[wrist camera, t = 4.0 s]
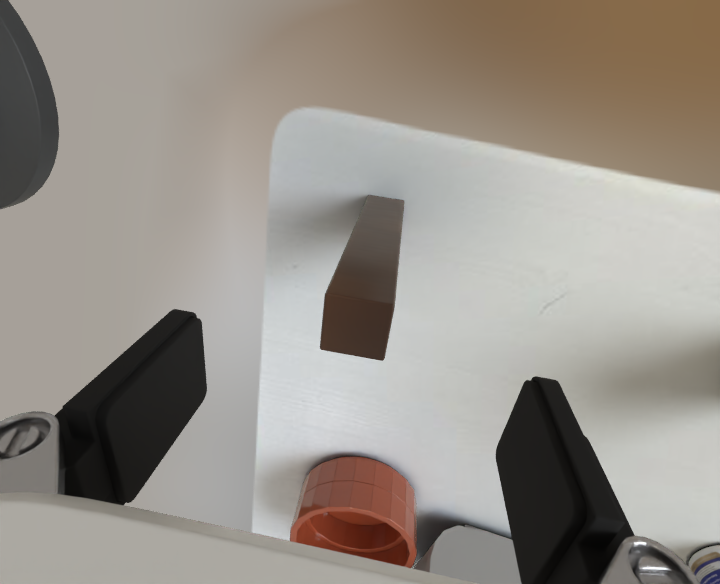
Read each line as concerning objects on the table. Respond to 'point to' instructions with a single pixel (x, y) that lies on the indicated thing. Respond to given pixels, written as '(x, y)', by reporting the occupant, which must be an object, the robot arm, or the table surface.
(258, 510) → the table surface
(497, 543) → the alarm clock
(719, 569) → the pill bottle
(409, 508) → the bowl
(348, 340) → the stick
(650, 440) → the table surface
